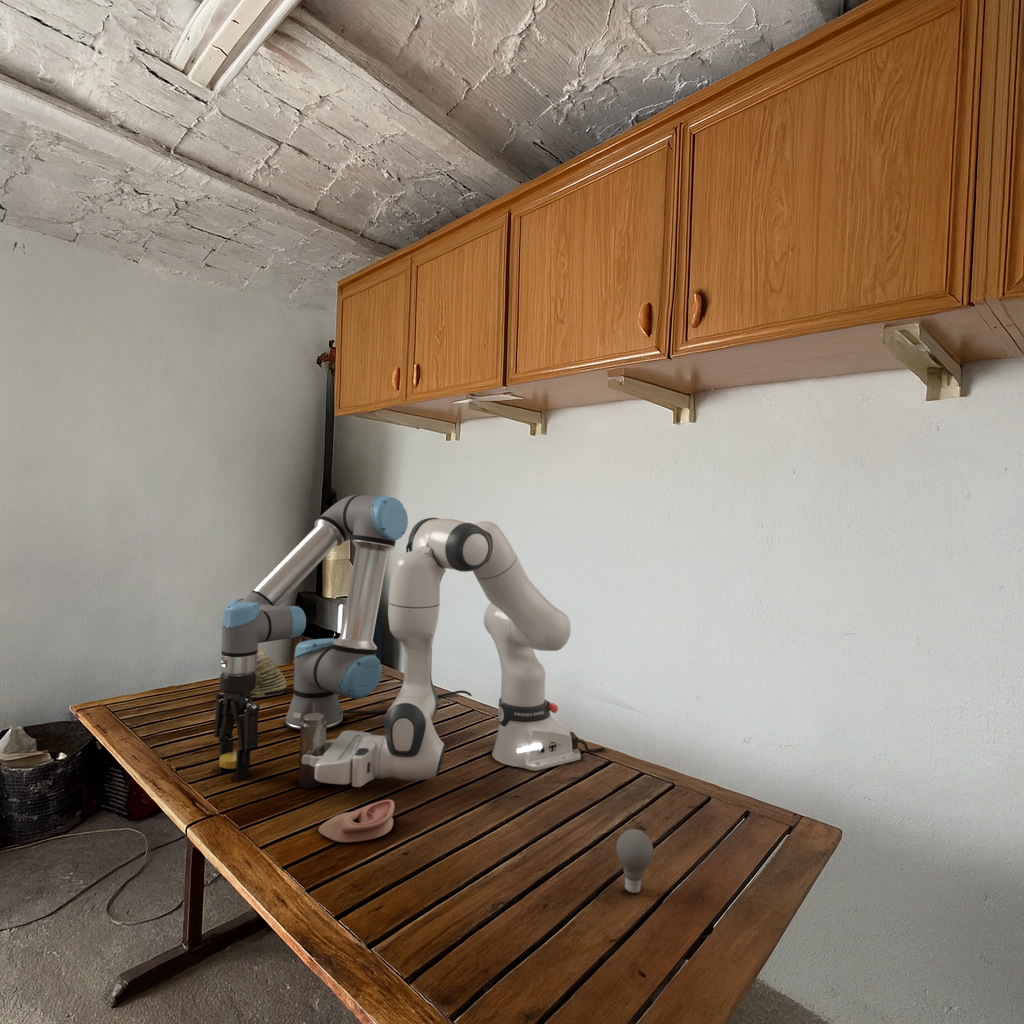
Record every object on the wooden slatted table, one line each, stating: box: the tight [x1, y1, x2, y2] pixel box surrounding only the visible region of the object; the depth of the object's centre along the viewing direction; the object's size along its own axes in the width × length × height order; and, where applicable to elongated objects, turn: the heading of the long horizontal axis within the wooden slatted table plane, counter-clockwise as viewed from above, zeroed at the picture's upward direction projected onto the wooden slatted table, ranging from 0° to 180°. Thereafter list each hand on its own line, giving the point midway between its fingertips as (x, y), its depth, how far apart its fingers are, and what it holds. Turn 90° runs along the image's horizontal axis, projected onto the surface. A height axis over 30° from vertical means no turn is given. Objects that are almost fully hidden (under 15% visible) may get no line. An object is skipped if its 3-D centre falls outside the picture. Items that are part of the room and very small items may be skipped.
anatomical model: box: [317, 799, 395, 843], centre depth 122 cm, size 13×4×12 cm
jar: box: [298, 713, 327, 789], centre depth 140 cm, size 5×5×15 cm
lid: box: [218, 750, 237, 770], centre depth 142 cm, size 6×6×2 cm
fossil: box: [251, 647, 288, 699], centre depth 198 cm, size 9×18×15 cm, turn 132°
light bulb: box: [615, 828, 654, 894], centre depth 106 cm, size 6×6×10 cm
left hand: (233, 774), depth 142 cm, fingers closed on lid, 6 cm apart
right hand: (308, 752), depth 140 cm, fingers closed on jar, 5 cm apart
